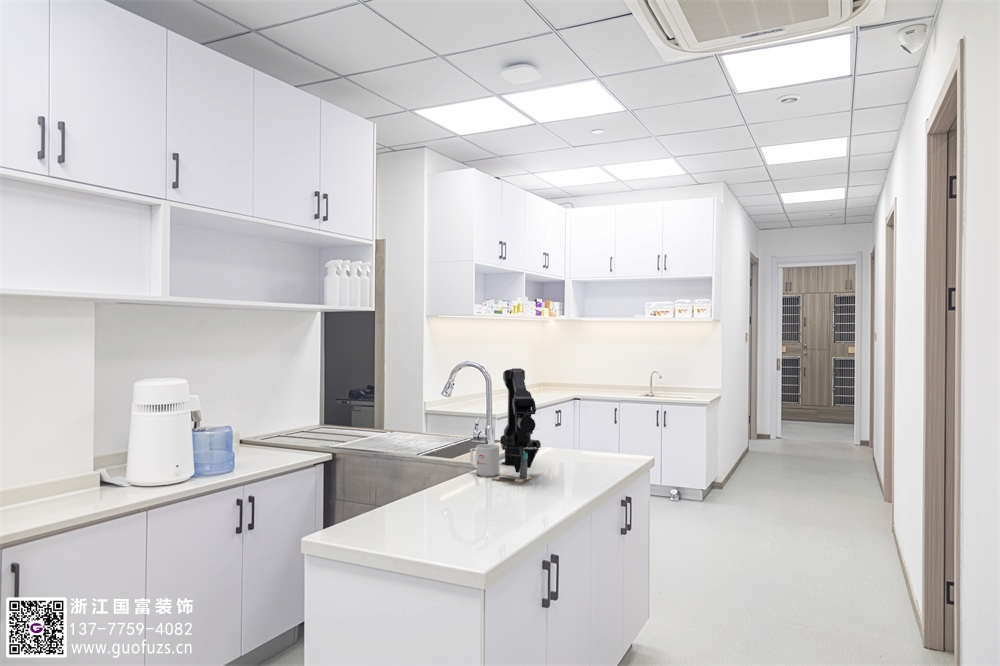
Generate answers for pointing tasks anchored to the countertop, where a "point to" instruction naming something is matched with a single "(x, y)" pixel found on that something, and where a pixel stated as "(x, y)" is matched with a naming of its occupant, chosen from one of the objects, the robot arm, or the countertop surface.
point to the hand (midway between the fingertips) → (523, 470)
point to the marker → (524, 466)
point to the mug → (486, 460)
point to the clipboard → (512, 478)
